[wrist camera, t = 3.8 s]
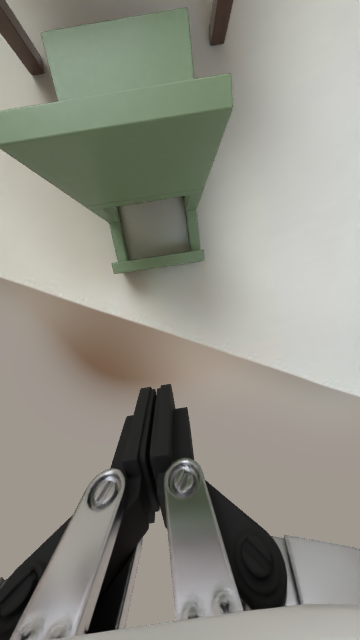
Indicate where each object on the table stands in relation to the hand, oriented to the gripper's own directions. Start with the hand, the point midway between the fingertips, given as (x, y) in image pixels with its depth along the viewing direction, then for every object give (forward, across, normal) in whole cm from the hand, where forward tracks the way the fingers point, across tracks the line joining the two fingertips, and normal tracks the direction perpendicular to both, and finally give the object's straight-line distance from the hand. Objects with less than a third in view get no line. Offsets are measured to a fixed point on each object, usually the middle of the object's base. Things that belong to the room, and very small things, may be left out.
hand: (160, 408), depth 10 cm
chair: (+13, -1, -15) cm, 20 cm away
